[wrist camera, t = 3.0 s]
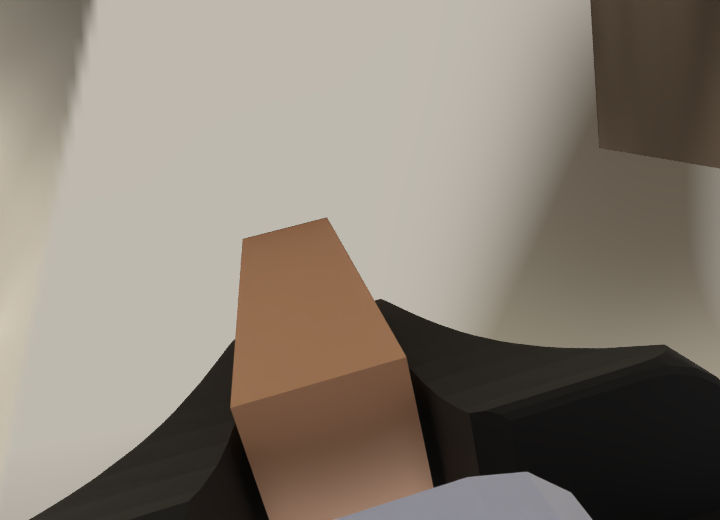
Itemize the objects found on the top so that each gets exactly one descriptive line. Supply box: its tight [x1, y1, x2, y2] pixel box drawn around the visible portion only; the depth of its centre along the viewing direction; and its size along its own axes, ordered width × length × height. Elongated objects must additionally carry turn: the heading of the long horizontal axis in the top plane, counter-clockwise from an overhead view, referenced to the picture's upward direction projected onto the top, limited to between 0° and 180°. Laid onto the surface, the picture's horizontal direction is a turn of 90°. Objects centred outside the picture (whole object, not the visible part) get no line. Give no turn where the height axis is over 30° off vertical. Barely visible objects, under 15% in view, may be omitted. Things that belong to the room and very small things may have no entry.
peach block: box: [230, 218, 434, 520], centre depth 10 cm, size 5×2×7 cm, turn 12°
